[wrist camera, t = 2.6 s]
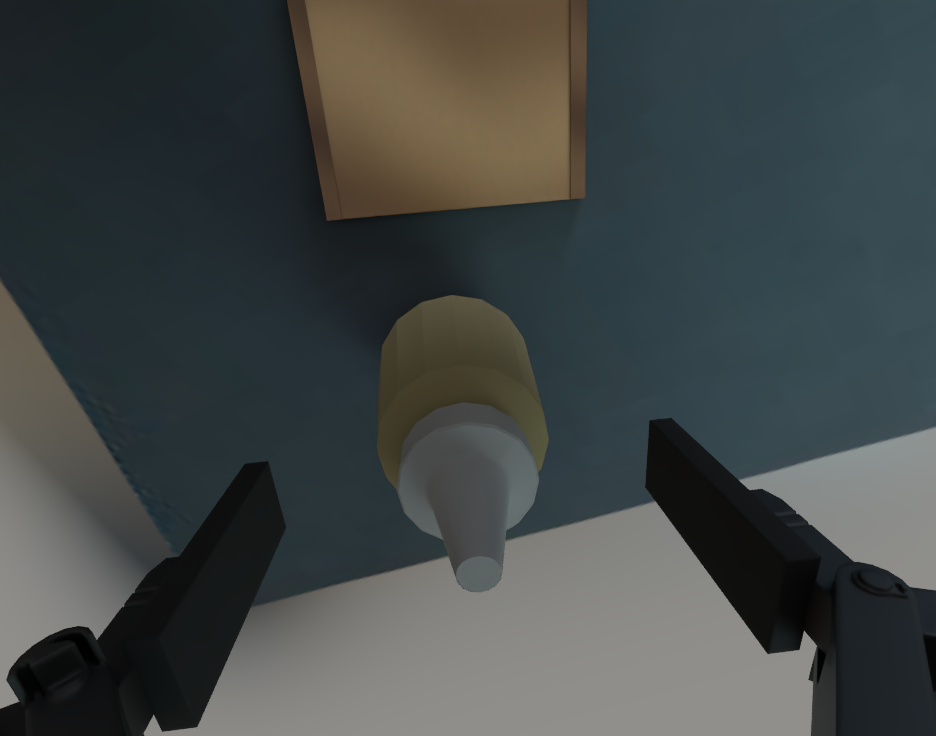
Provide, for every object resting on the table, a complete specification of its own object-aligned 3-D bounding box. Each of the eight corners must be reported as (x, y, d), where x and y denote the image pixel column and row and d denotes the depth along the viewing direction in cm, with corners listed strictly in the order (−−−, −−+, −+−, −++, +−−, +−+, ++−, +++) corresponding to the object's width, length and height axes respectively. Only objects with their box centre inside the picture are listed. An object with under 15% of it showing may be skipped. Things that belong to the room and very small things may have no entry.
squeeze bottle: (422, 426, 30) (407, 722, 13) (361, 317, 27) (244, 517, 10) (536, 376, 29) (674, 621, 13) (486, 258, 26) (576, 372, 10)
